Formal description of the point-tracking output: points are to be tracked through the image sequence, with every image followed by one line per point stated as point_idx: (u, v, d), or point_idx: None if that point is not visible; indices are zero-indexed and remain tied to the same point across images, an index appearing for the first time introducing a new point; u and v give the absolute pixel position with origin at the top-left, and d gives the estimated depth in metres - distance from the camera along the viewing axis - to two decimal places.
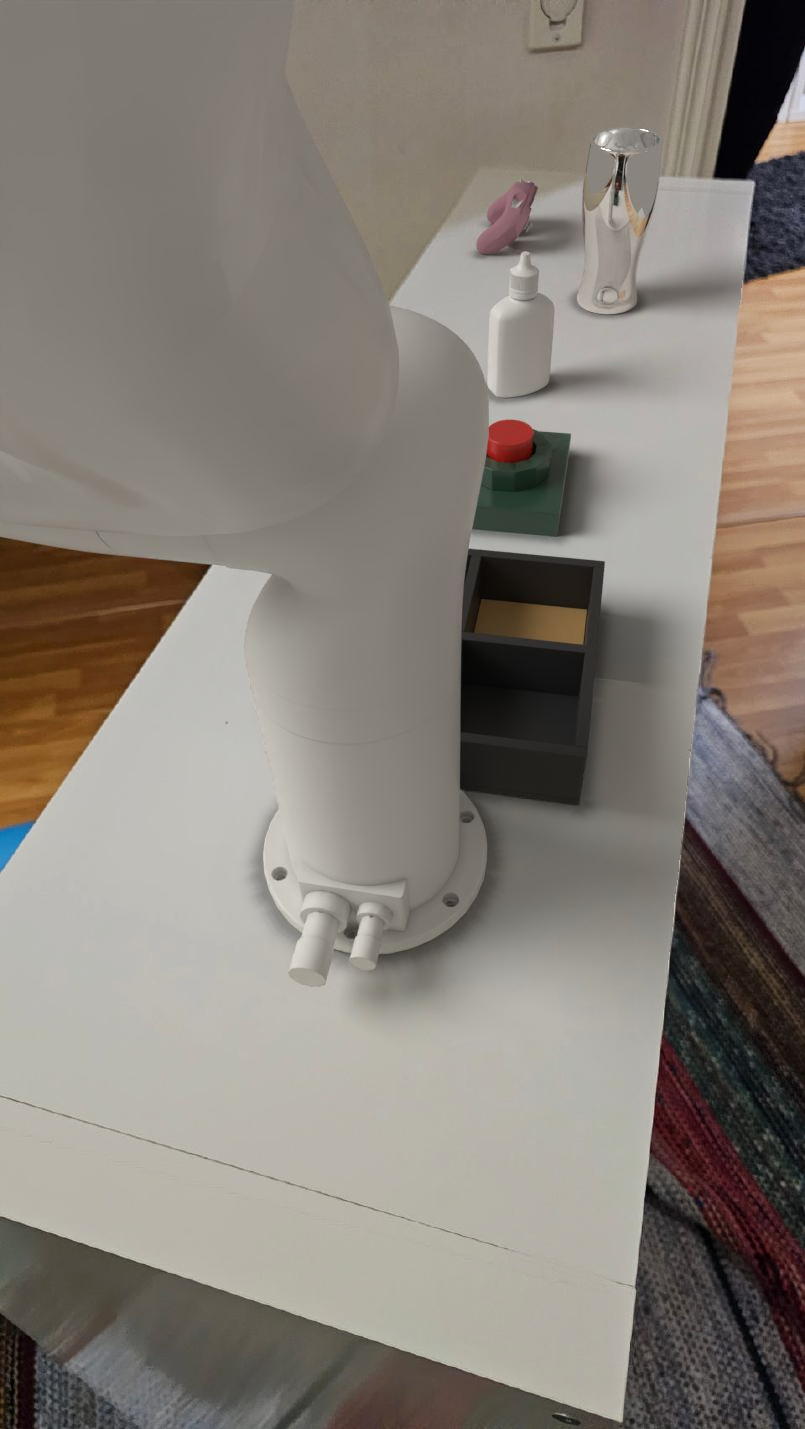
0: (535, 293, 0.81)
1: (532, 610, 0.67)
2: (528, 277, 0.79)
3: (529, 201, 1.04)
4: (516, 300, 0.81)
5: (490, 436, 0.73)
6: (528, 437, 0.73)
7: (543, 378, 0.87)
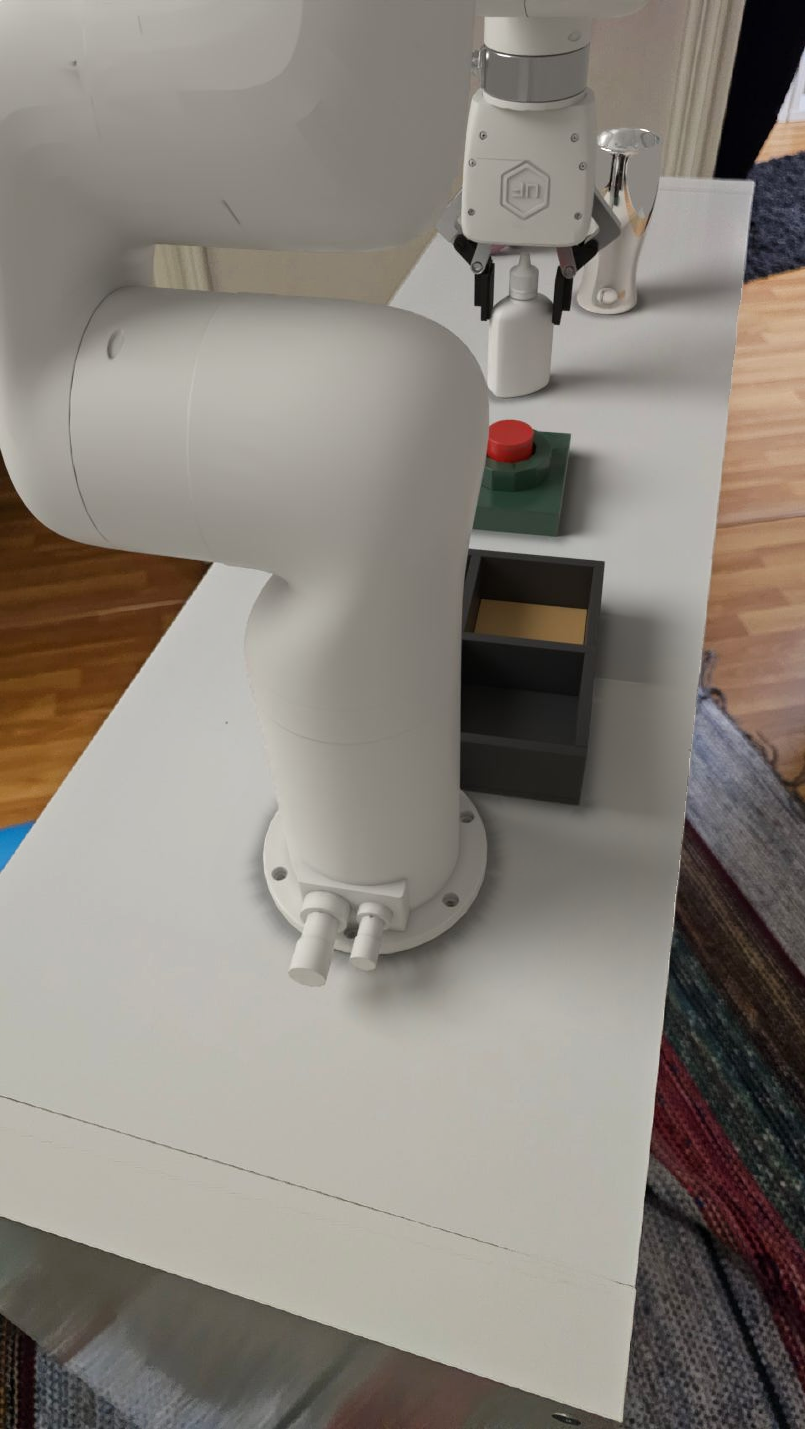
0: (535, 293, 0.81)
1: (532, 610, 0.67)
2: (528, 277, 0.79)
3: None
4: (516, 300, 0.81)
5: (490, 436, 0.73)
6: (528, 437, 0.73)
7: (543, 378, 0.87)
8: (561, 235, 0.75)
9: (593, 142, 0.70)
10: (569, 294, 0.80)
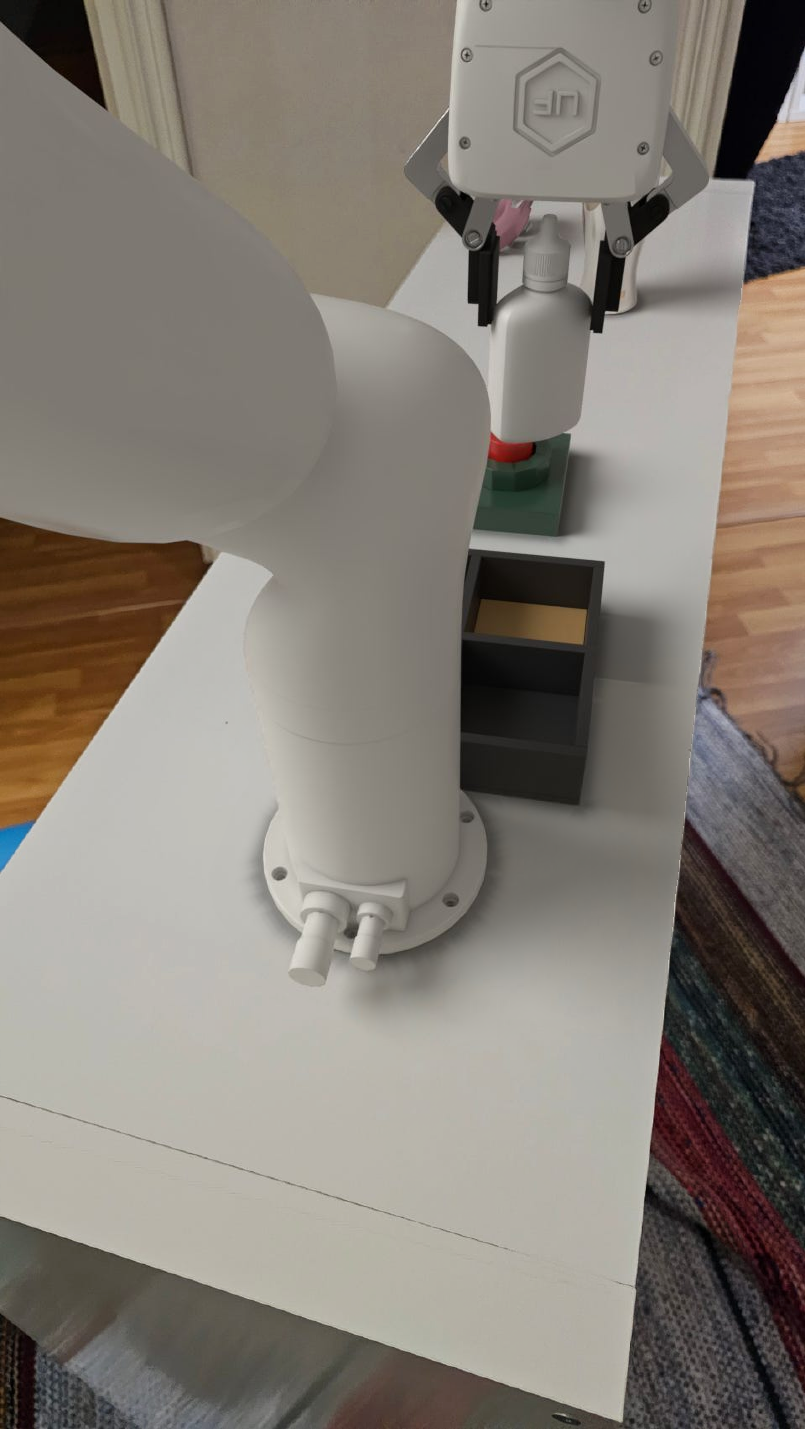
0: (564, 281, 0.51)
1: (532, 610, 0.67)
2: (554, 255, 0.50)
3: (529, 201, 1.04)
4: (534, 292, 0.51)
5: (490, 436, 0.73)
6: None
7: (572, 414, 0.57)
8: (614, 182, 0.45)
9: (675, 16, 0.41)
10: (619, 284, 0.50)
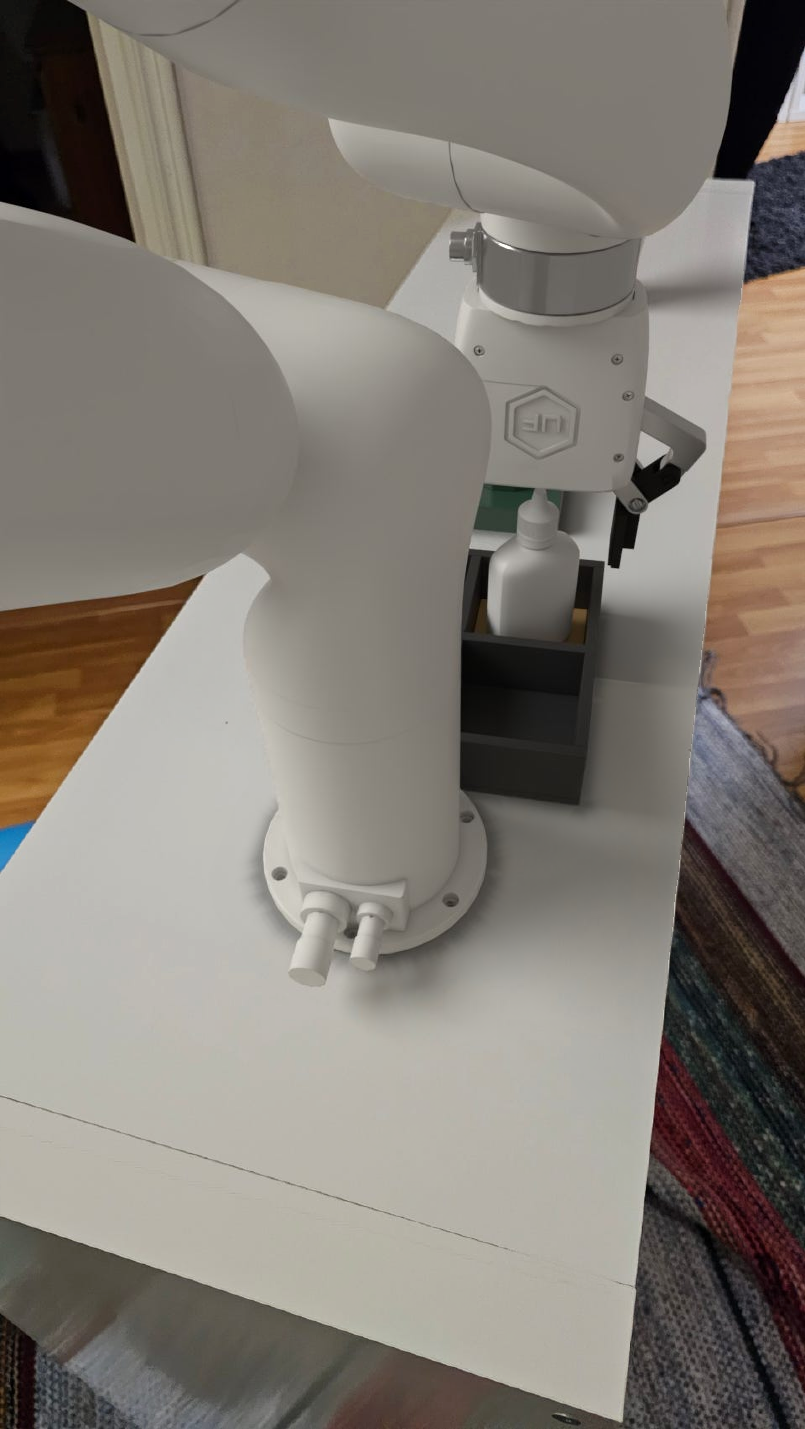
0: (553, 539, 0.57)
1: None
2: (543, 523, 0.56)
3: None
4: (526, 548, 0.58)
5: None
6: None
7: (563, 633, 0.63)
8: (593, 480, 0.51)
9: (644, 363, 0.47)
10: (634, 530, 0.55)
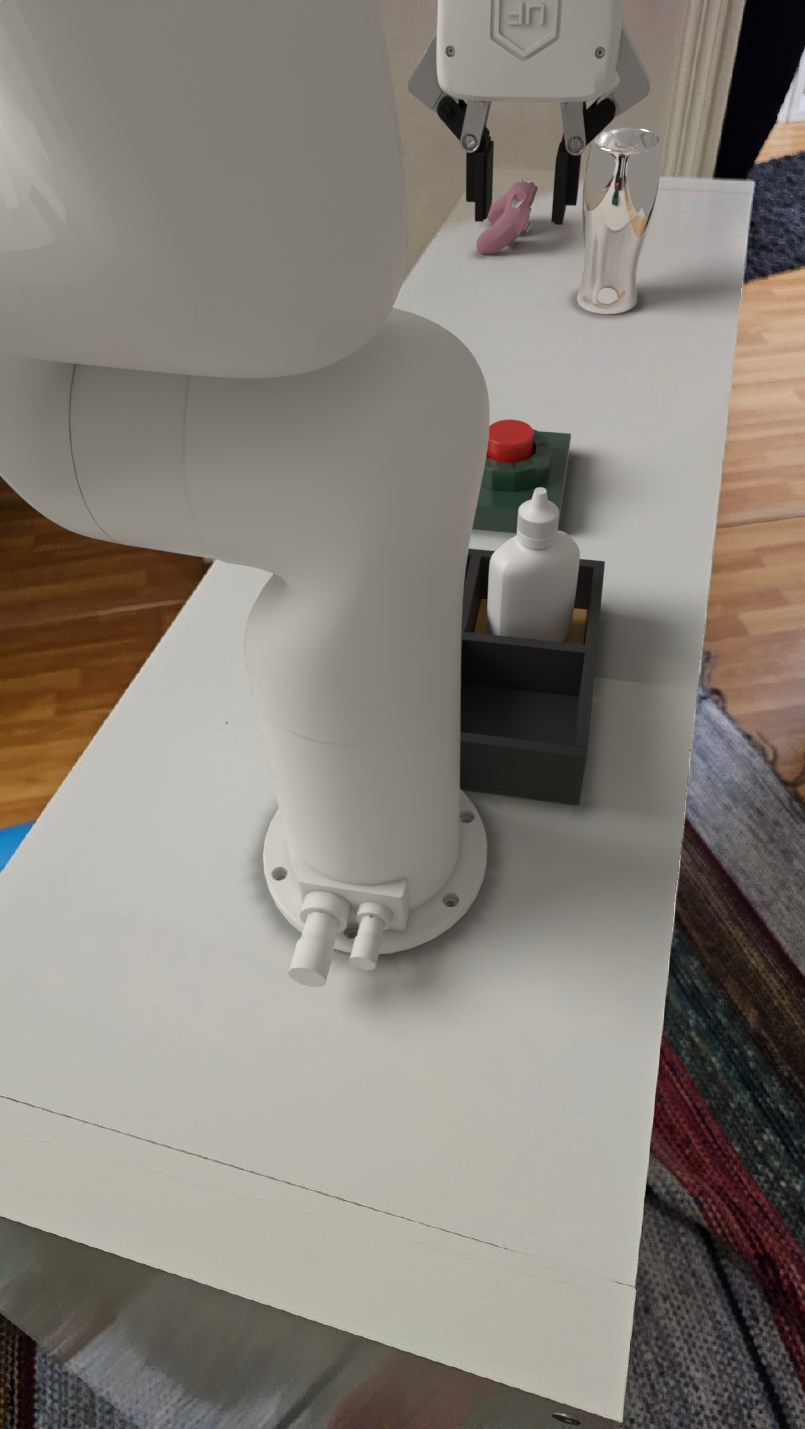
0: (554, 539, 0.57)
1: None
2: (544, 523, 0.56)
3: (529, 201, 1.04)
4: (527, 548, 0.58)
5: (490, 436, 0.73)
6: (528, 437, 0.73)
7: (563, 633, 0.63)
8: (576, 83, 0.53)
9: None
10: (575, 180, 0.59)
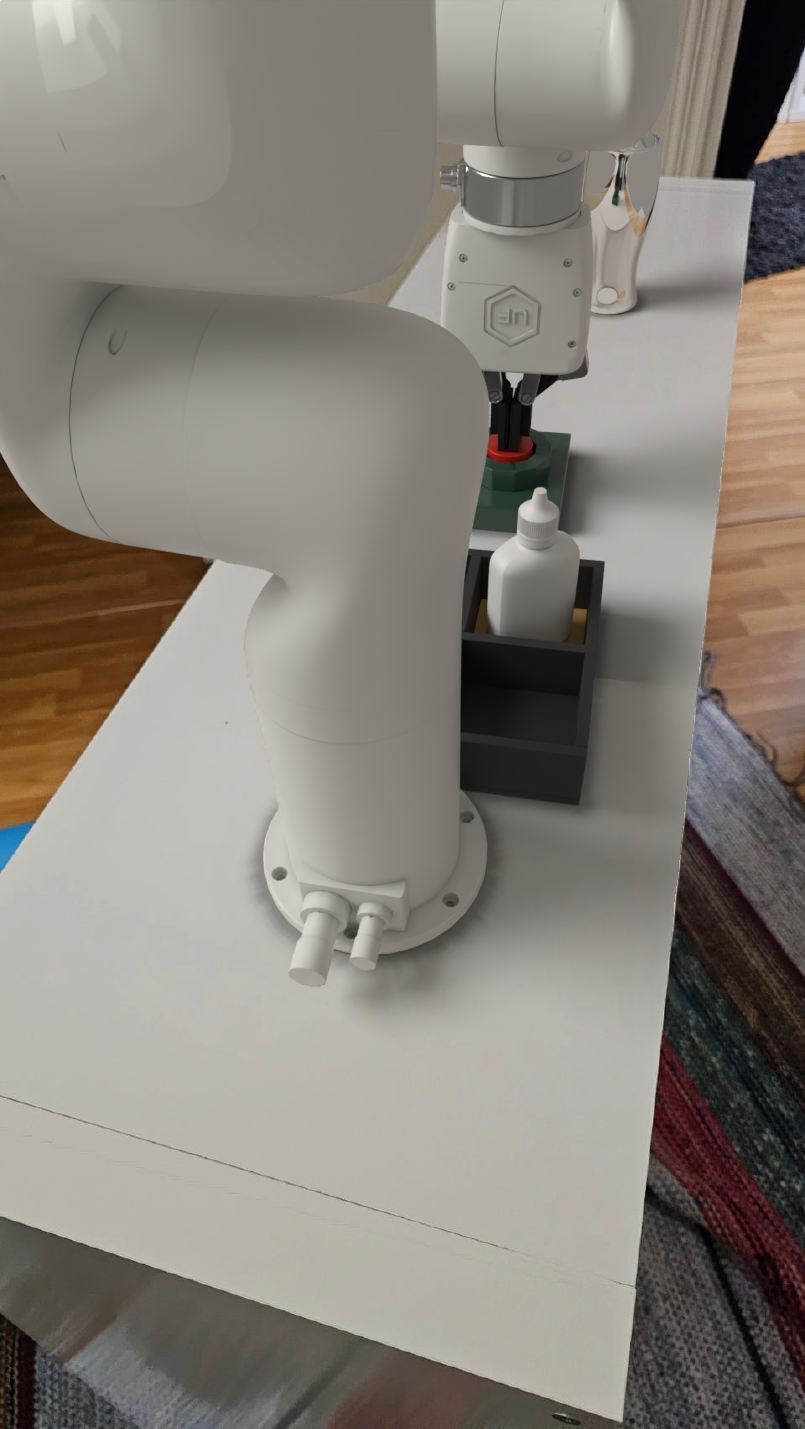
0: (554, 539, 0.57)
1: None
2: (544, 523, 0.56)
3: None
4: (527, 548, 0.58)
5: (490, 447, 0.74)
6: (527, 448, 0.74)
7: (563, 633, 0.63)
8: (553, 363, 0.66)
9: (589, 266, 0.62)
10: (528, 420, 0.72)
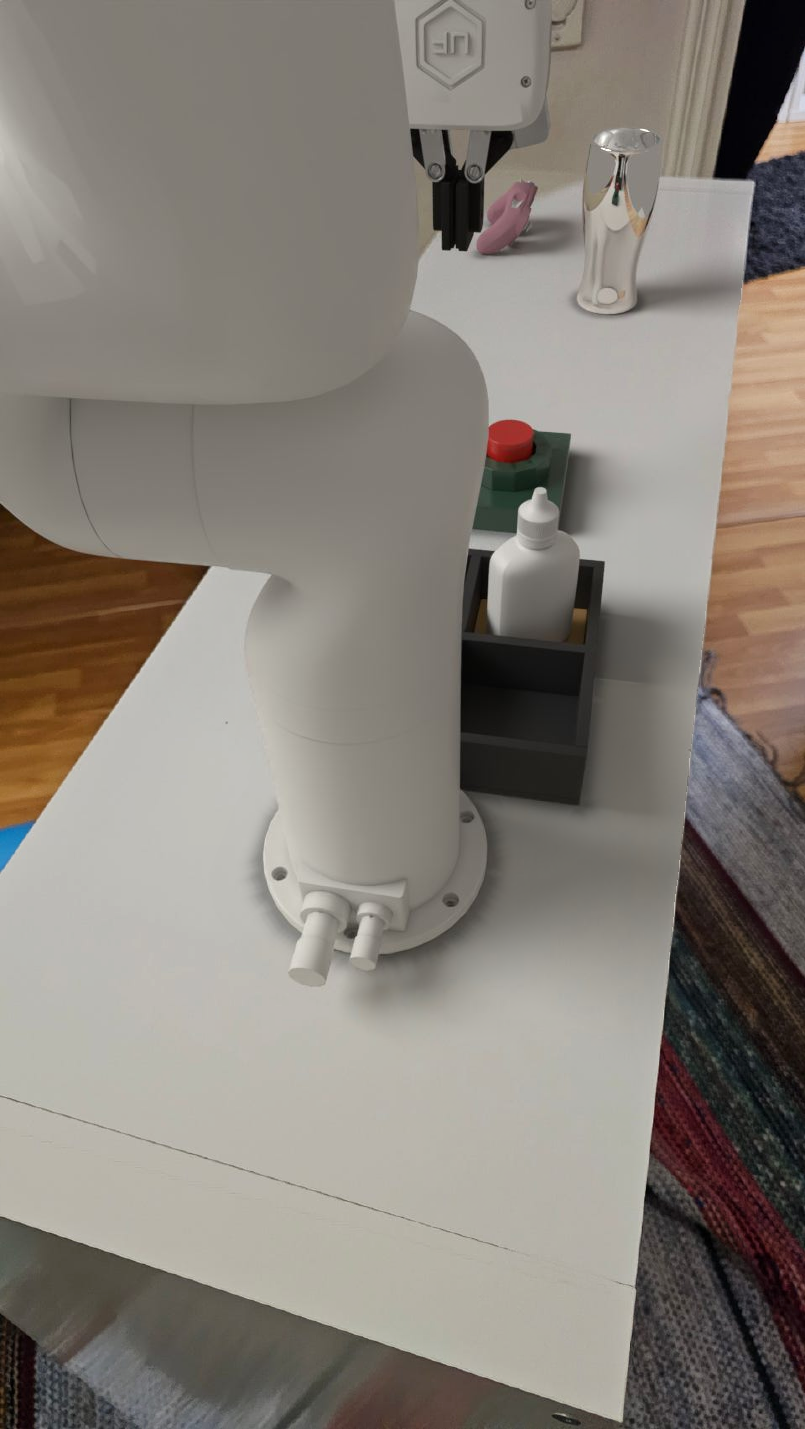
0: (554, 539, 0.57)
1: None
2: (544, 523, 0.56)
3: (529, 201, 1.04)
4: (527, 548, 0.58)
5: (490, 436, 0.73)
6: (528, 437, 0.73)
7: (563, 633, 0.63)
8: (504, 111, 0.53)
9: None
10: (477, 207, 0.59)
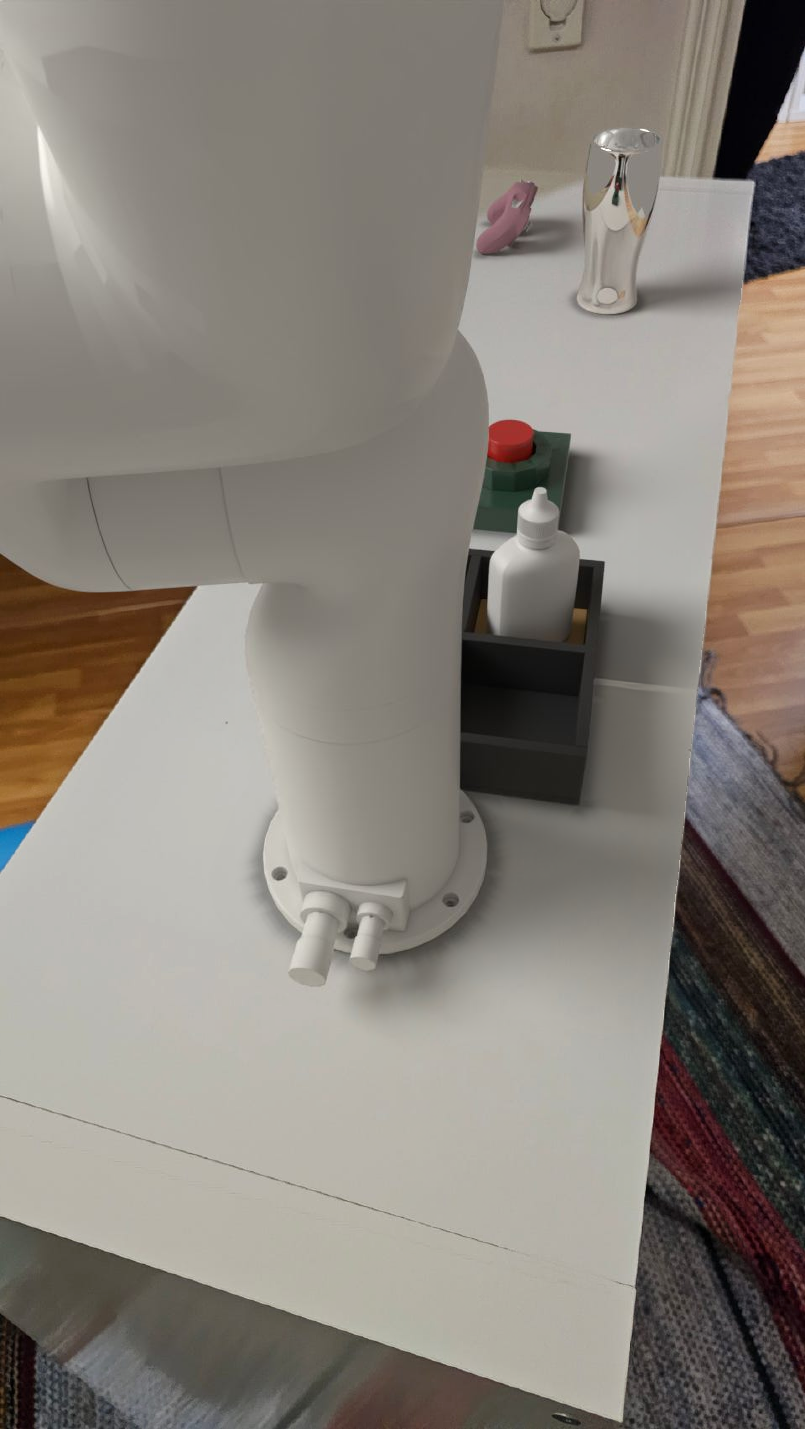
0: (554, 539, 0.57)
1: None
2: (544, 523, 0.56)
3: (529, 201, 1.04)
4: (527, 548, 0.58)
5: (490, 436, 0.73)
6: (528, 437, 0.73)
7: (563, 633, 0.63)
8: None
9: None
10: None
